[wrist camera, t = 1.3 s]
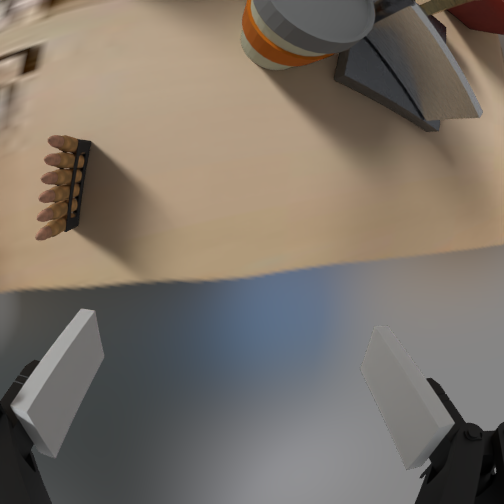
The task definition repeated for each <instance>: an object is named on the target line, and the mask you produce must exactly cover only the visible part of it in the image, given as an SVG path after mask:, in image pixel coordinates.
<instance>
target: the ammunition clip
mask: <svg viewBox="0 0 504 504" xmlns="http://www.w3.org/2000/svg"><path fill="white" fill-rule="evenodd" d="M48 143H49V144H50V145H51V146H53V147H55V148H58V149H59V150H61V151H63V152H61V153H56V154H49V155H47V156H46V157H45V158H44V161H45V163H46V164H48V165H51V166H55V167H57V168H60V169H59V170H55V171H52V172H48V173H46V174H44V175H43V176H42V177H41V181H42V182H43V183H45V184H54V185H57V186H55V187H53V188H51V189H49V190H47V191H45V192H43V193H41V195H40V196H39V198H38V199H39V201H41V202H43V203H49V202H55V203H54V204H52V205H50V206H49V207H48V208H46V209H44V210H42V211H41V212H40V213H39V214H38V215H37V220H38V221H41V222H45V221H48V220H52V221H50V222H48V224H47V225H46V226H44V227H43V228H41V229H40V230H39V231H38V232H37V234H36V237H35V238H36V240H45V239H47V238H50V237H54V236H56V235H58V234H59V233H61V232H63V231H64V232H67V231H69V230H71V229H73V228H75V227H77V226H78V224H79V215H80V206H81V199H82V192H83V185H84V178H85V172H86V167H87V161H88V156H89V151H90V146H91V141H87V140H80V139H76V138H73V137H70V136H66V135H65V136H59V135H54V136H51V137H49V138H48ZM67 152H70V153H67ZM71 153H73V154H71ZM63 168H70V169H63ZM64 184H66V185H64Z"/></svg>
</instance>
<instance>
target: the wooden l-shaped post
mask: <svg viewBox="0 0 504 504" xmlns="http://www.w3.org/2000/svg"><path fill="white" fill-rule="evenodd" d="M471 1H475V0H431V1H429V2H426V3H424V4H422V5H420V6H421V7H422V8H424V9H425V11H426V13H427V14H428V15H433V14H436V13H439V12H442V11H444V10H447V9H450V8H453V7H456V6H459V5H462V4H465V3H468V2H471Z"/></svg>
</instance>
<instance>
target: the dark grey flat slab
mask: <svg viewBox="0 0 504 504" xmlns="http://www.w3.org/2000/svg"><path fill="white" fill-rule="evenodd" d="M372 1H373V3H374V2H376V1H378V0H372ZM417 5H418V4H417ZM418 6H419V7H420V9H421V10H422V11H423V12H424V14H425V15H426V16H427V18H428V19H429V21H430V22H431V23H432V25H433V26H434V28H435V29H436V30H437V32H438V33H439V35H440V36H441V38H442V39H443V41H444V42H445V44H446V27H445V26H444V25H443V24H442V23H441V22H440V21H438V20H437V19H436V18H435V17H434V16H432V15H428V14H427V13H426V11H425V9H424V8H422V7H421V6H420V5H418ZM334 80H335V81H337V82H339V83H341V84H344V85H346V86H348V87H350V88H352V89H354V90H356V91H358V92H360V93H361V94H363V95H365V96H367V97H369V98H371V99H373V100H375V101H377V102H378V103H380V104H382V105H384V106H385V107H387V108H389V109H391V110H392V111H394V112H396V113H398V114H399V115H401V116H403V117H404V118H406V119H407V120H409V121H411V122H412V123H414V124H415V125H417V126H419V127H420V128H422V129H423V130H425V131H426V132H433V131H439V126H440V120H431V121H426V120H425V118H424V116H423V115H422V113H421V111H420V110H419V108H418V107H417V105H416V103H415V102H414V100H413V99H412V97H411V96H410V94H409V93H408V91H407V90H406V88H405V87H404V85H403V84H402V82H401V81H400V80H399V78H398V77H397V75H396V74H395V73H394V71H393V70H392V68H391V67H390V66H389V64H388V63H387V62H386V60H385V59H384V58H383V56H382V55H381V54H380V53H379V51H378V50H377V49H376V48H375V46H374V45H373V44H372V43H371V41H370V40H369V39H368V38H367V37H366V36H365V37H364V38H363V39H361V40H360V41H359V42H357V43H356V44H355V45H353V46H352V47H350V48H349V49H348V50H345V51H342V52H340V53H339V58H338V63H337V67H336V72H335V76H334Z"/></svg>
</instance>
